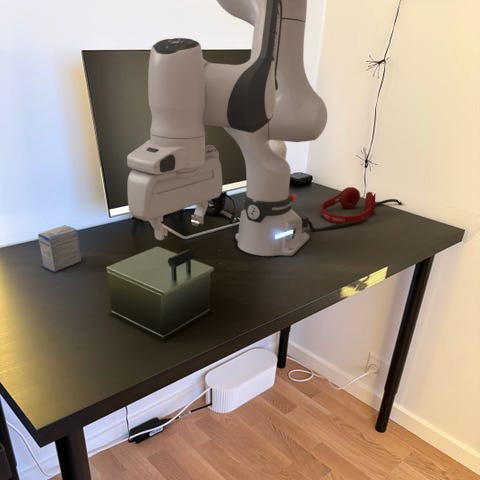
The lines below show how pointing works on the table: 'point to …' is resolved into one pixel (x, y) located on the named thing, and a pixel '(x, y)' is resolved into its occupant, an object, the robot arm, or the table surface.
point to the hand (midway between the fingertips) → (180, 231)
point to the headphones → (349, 206)
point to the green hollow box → (159, 305)
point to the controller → (217, 204)
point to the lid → (161, 270)
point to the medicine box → (59, 247)
